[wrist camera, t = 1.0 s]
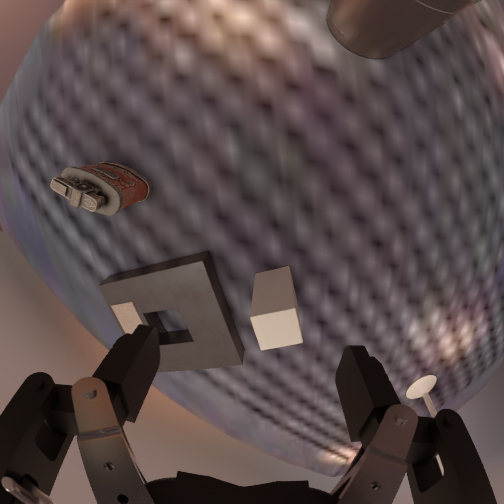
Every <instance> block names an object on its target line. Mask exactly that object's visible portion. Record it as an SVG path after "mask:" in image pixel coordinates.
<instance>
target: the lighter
mask: <svg viewBox="0 0 504 504" xmlns="http://www.w3.org/2000/svg"><path fill="white" fill-rule="evenodd" d="M51 188H52V189H53V190H54V191H56V192H57V193H59V194H61V195H63V196H64V197H66V198H68V199H70V204H71V205H72V206H74V207H81V208H86V209H88V210H90V211H92V212H93V211H95V212H98V213H101V214H104V215H110V216H111V215H113V214H115V213H117V212H119V211H120V210H121V209H122V208H124V207H126V206H128V205H131V204H133V203H135V202H141V201H144V200H146V199H148V198H149V197H150V195H151V192H152V185H151V182H150V181H149V180H148V179H146V178H145V177H144V176H142V175H141V174H140V173H138V172H136V171H134V170H133V169H131V168H129V167H127V166H124V165H121V164H118V163H113V162H101V163H99V164H97V165H91V166H85V167H79V168H78V167H68V168H66V169H64V171H63V172H62V174H61V177H56V178H53V179H52V182H51Z"/></svg>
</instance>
